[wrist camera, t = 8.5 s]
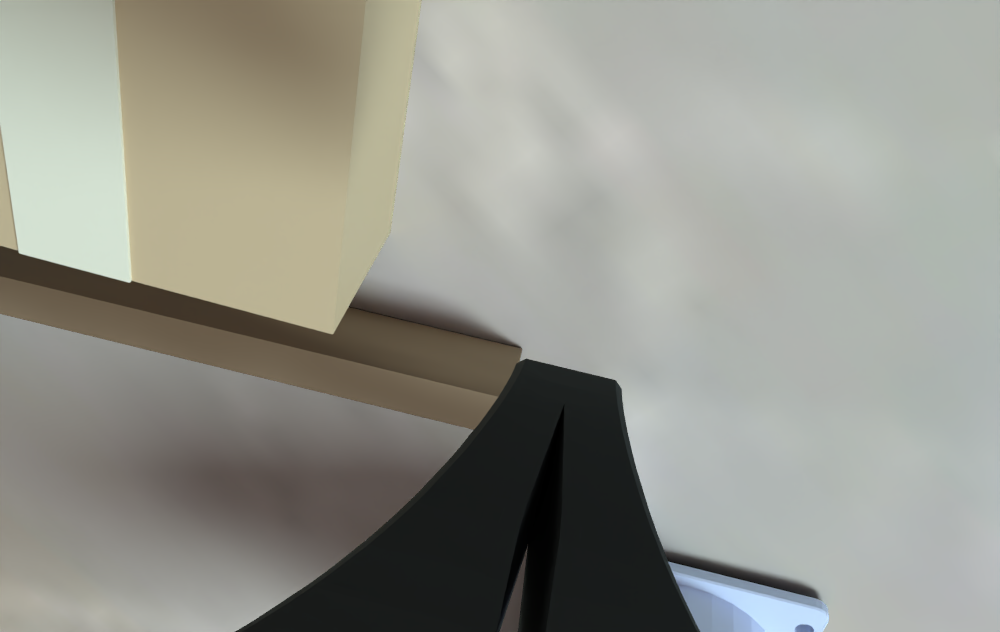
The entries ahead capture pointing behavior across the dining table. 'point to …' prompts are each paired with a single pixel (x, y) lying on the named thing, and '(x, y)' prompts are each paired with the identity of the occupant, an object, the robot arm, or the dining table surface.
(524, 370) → the robot arm
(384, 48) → the carton
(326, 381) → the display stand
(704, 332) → the dining table surface
